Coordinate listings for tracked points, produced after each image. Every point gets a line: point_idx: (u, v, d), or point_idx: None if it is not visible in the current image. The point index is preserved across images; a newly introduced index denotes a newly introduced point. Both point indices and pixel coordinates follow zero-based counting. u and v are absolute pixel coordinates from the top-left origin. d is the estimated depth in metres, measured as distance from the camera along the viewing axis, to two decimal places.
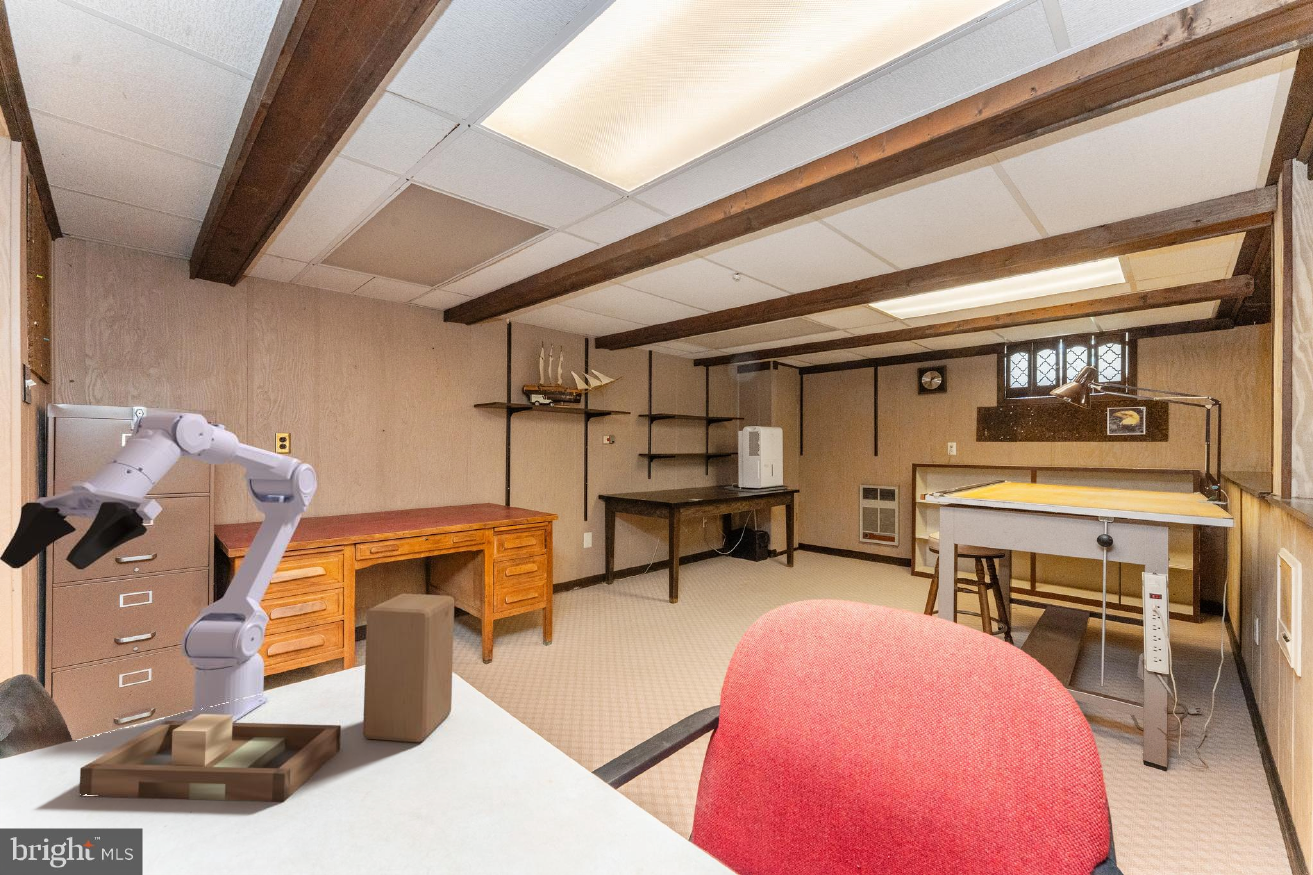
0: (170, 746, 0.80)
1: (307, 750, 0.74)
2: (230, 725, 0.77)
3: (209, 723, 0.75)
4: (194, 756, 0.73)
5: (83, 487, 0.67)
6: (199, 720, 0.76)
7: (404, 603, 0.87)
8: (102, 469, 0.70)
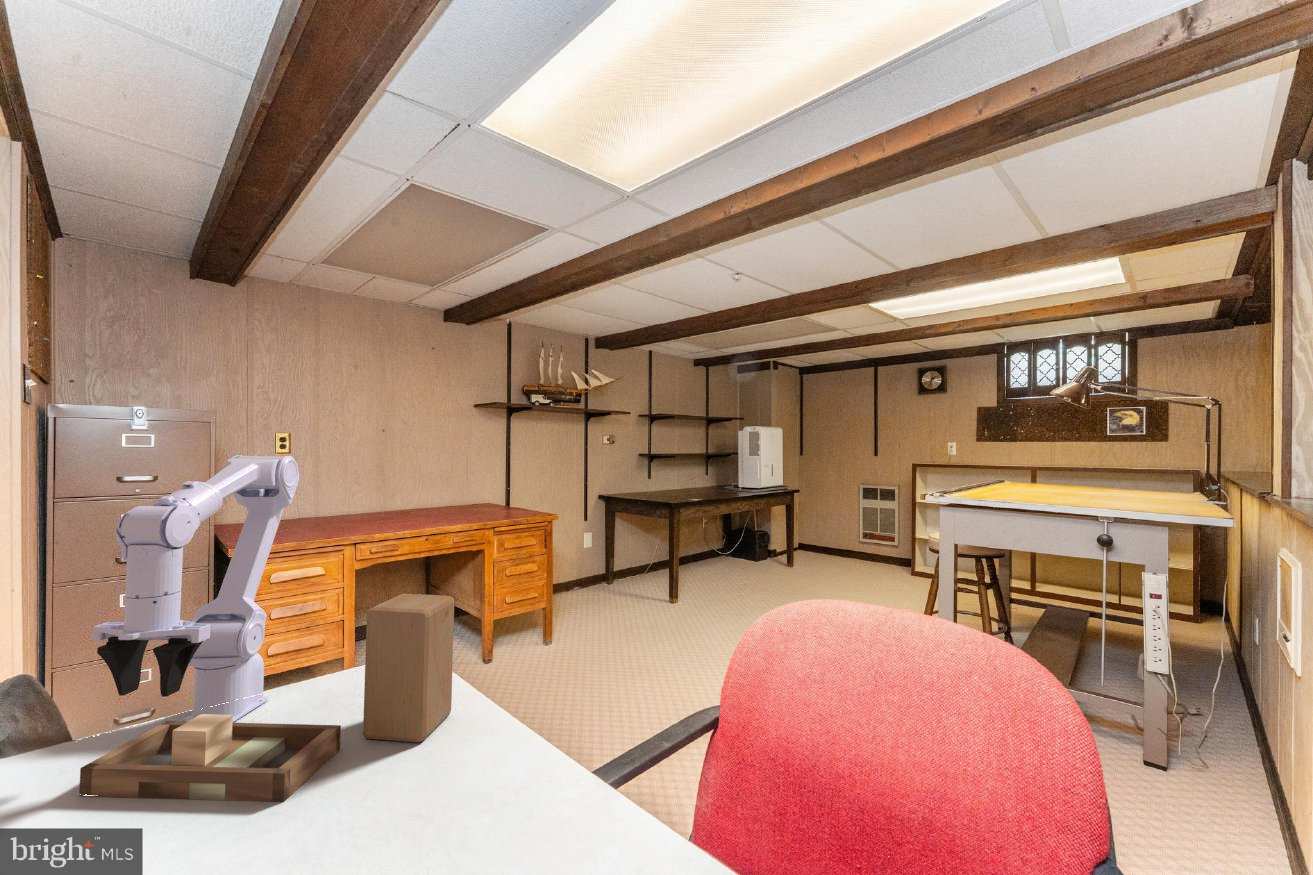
0: (170, 746, 0.80)
1: (307, 750, 0.74)
2: (230, 725, 0.77)
3: (209, 723, 0.75)
4: (194, 756, 0.73)
5: (131, 639, 0.72)
6: (199, 720, 0.76)
7: (404, 603, 0.87)
8: (130, 606, 0.73)
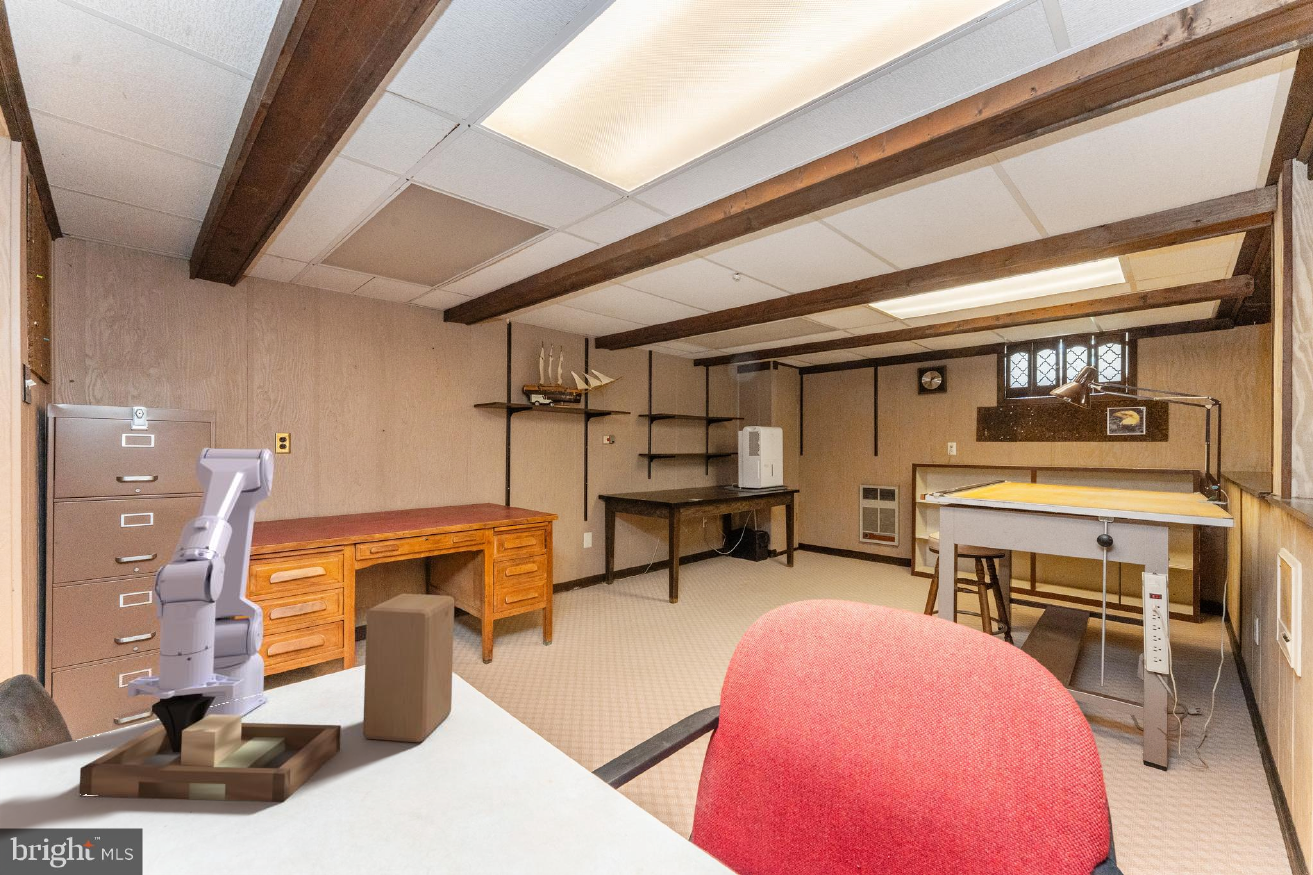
0: (170, 746, 0.80)
1: (307, 750, 0.74)
2: (240, 726, 0.77)
3: (218, 723, 0.75)
4: (203, 756, 0.73)
5: (166, 697, 0.71)
6: (208, 720, 0.75)
7: (404, 603, 0.87)
8: (164, 664, 0.72)
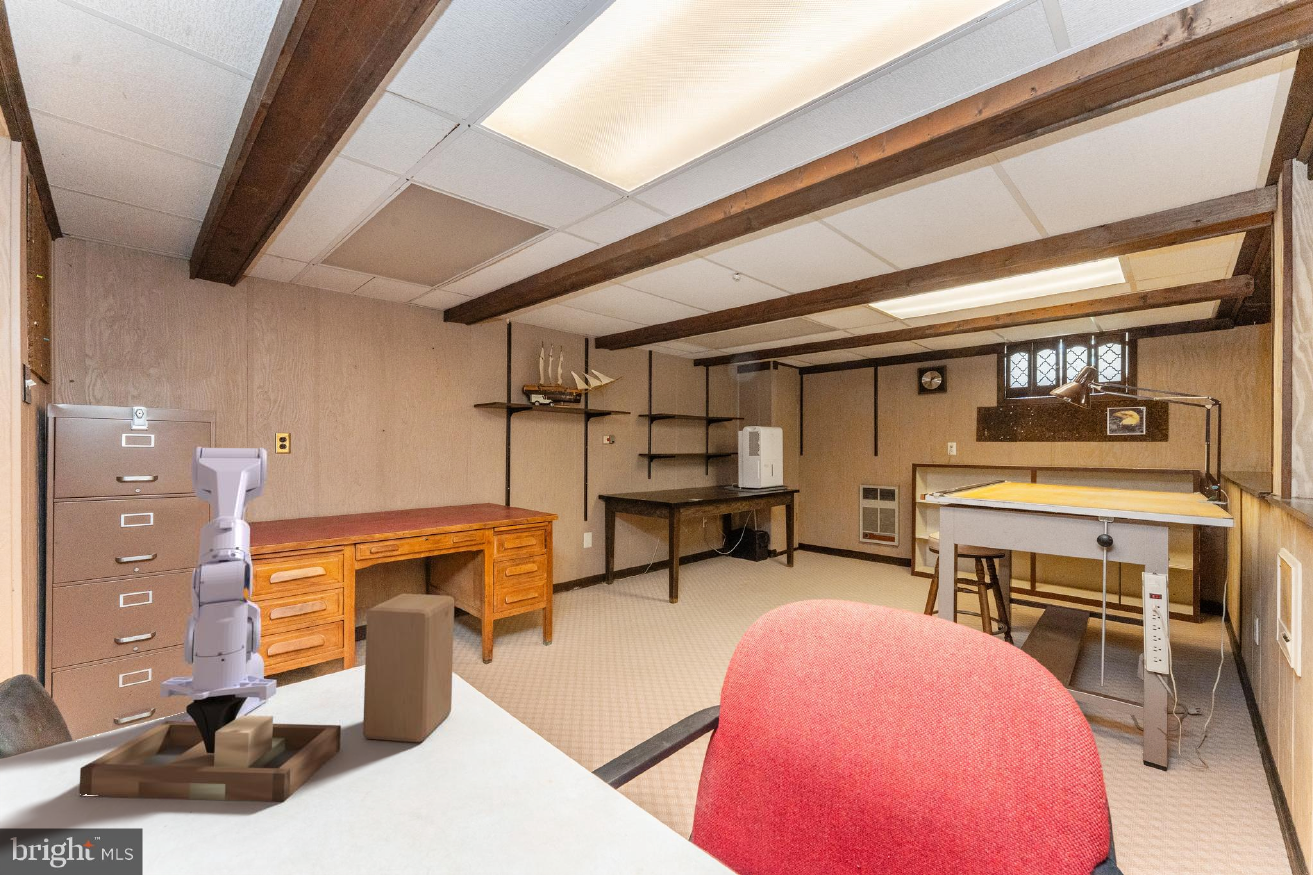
0: (170, 746, 0.80)
1: (307, 750, 0.74)
2: (271, 726, 0.77)
3: (251, 724, 0.75)
4: (237, 757, 0.73)
5: (201, 698, 0.71)
6: (240, 721, 0.75)
7: (404, 603, 0.87)
8: (199, 665, 0.72)
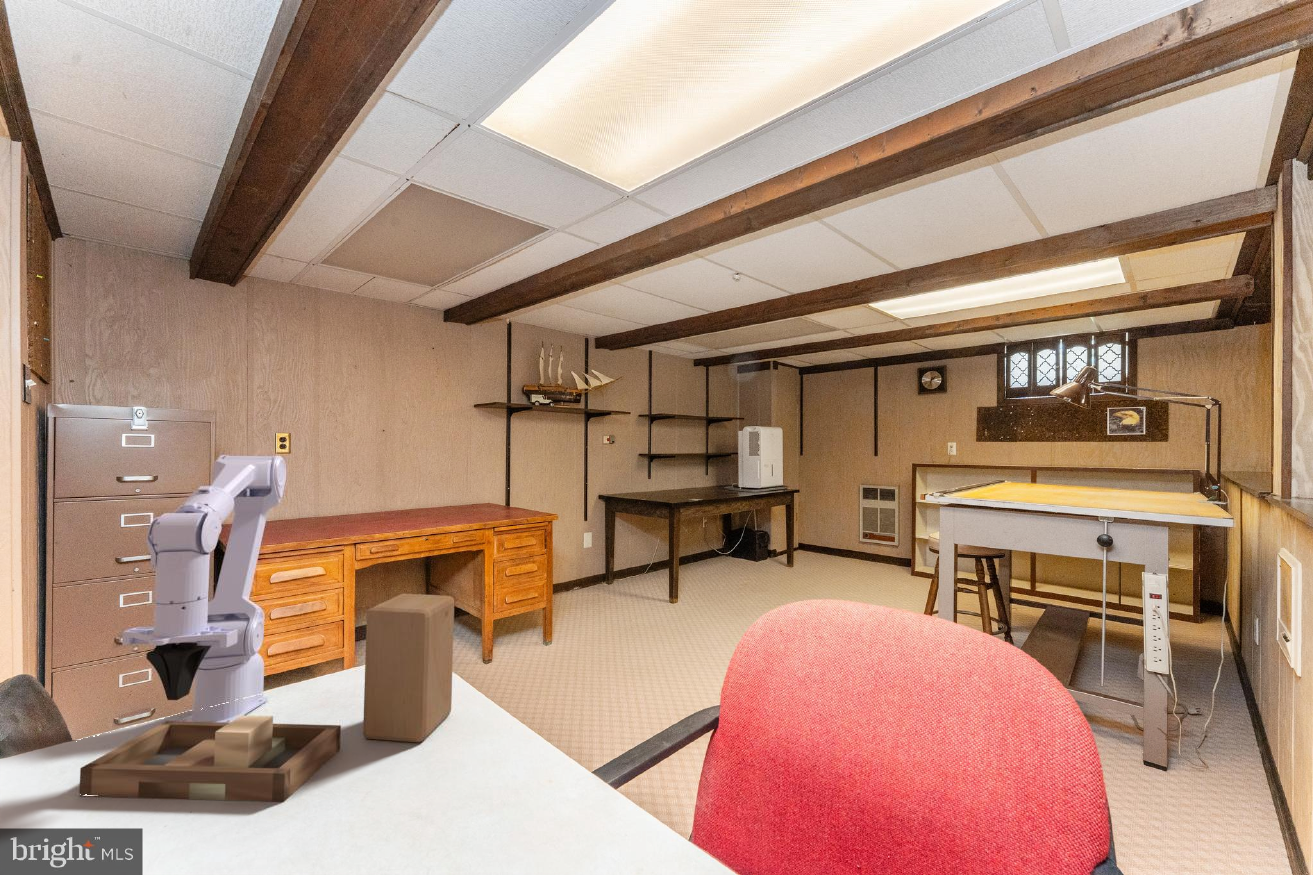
0: (170, 746, 0.80)
1: (307, 750, 0.74)
2: (271, 726, 0.77)
3: (251, 724, 0.75)
4: (237, 757, 0.73)
5: (161, 644, 0.73)
6: (240, 721, 0.75)
7: (404, 603, 0.87)
8: (159, 612, 0.74)
